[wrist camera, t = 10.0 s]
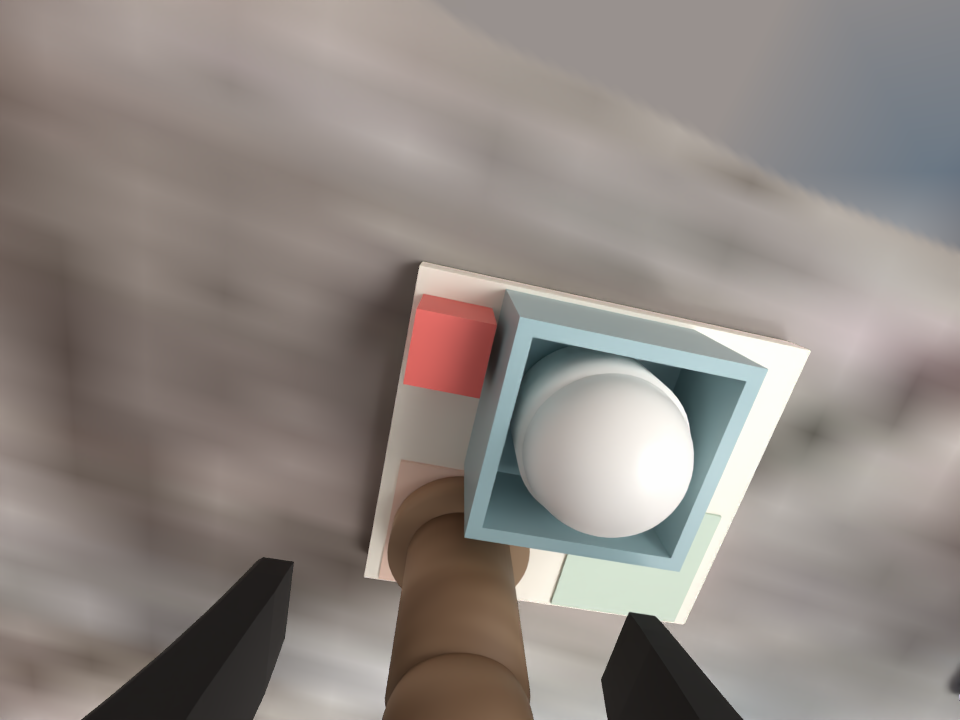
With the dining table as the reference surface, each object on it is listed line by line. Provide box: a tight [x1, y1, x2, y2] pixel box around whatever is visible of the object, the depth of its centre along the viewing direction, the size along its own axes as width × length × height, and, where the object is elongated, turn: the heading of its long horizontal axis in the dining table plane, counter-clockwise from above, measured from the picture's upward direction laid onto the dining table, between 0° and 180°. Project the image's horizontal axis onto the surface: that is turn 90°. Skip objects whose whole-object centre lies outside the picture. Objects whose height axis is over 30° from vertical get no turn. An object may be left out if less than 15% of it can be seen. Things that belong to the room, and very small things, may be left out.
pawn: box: [382, 476, 534, 720], centre depth 9 cm, size 4×4×6 cm
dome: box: [510, 345, 694, 538], centre depth 9 cm, size 3×3×3 cm
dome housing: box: [464, 289, 768, 572], centre depth 10 cm, size 5×5×3 cm
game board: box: [364, 261, 811, 625], centre depth 12 cm, size 10×9×2 cm
